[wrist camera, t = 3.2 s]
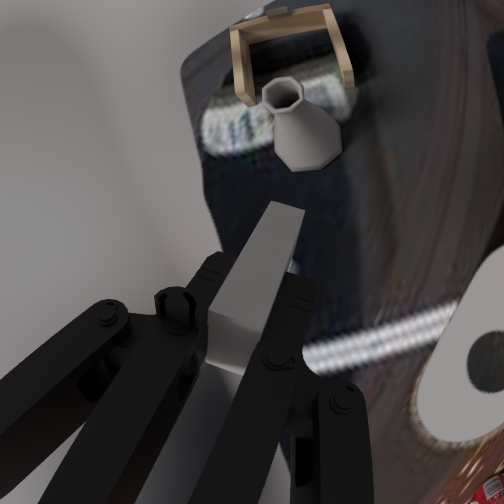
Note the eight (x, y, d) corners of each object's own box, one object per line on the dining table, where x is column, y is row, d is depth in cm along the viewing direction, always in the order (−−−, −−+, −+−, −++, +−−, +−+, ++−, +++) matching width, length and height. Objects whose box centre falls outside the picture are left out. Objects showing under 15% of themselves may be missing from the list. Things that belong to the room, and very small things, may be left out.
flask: (287, 183, 29) (253, 154, 20) (264, 124, 30) (224, 80, 21) (354, 157, 27) (350, 114, 18) (325, 98, 28) (307, 43, 18)
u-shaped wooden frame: (240, 41, 31) (226, 22, 27) (333, 21, 27) (327, -2, 23) (247, 107, 31) (232, 90, 27) (354, 87, 27) (352, 65, 22)
